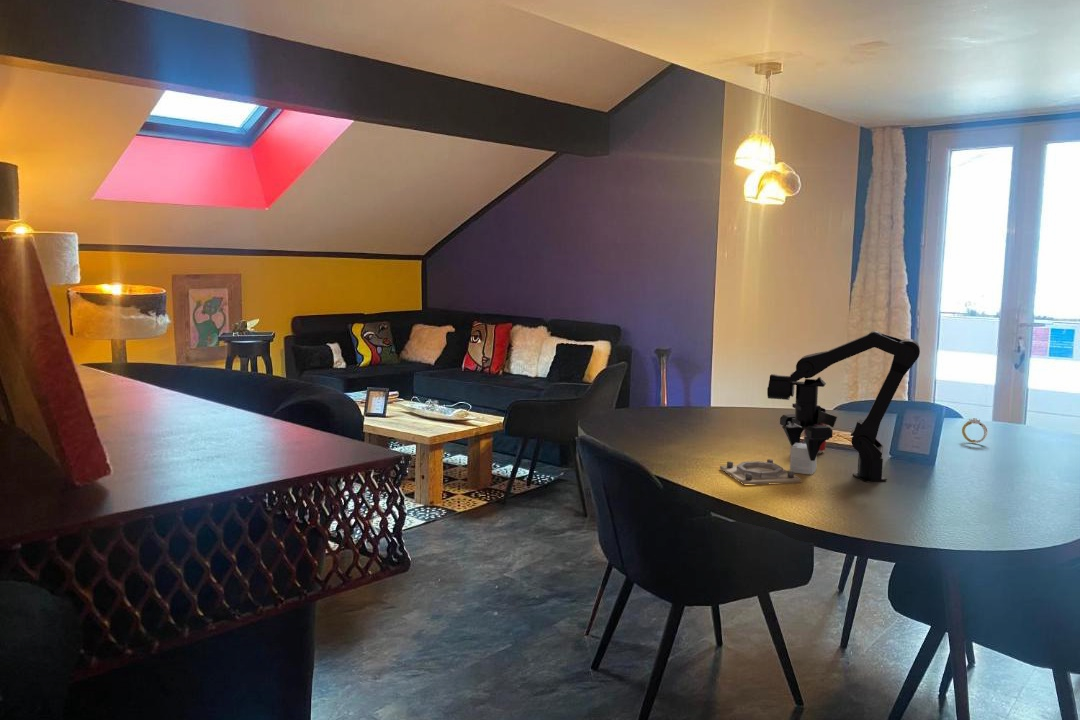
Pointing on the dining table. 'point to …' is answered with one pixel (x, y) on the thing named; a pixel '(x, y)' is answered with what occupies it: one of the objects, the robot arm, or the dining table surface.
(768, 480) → the carrier plate
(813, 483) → the dining table surface
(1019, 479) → the dining table surface
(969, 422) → the ring
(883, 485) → the dining table surface
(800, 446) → the skincare box
